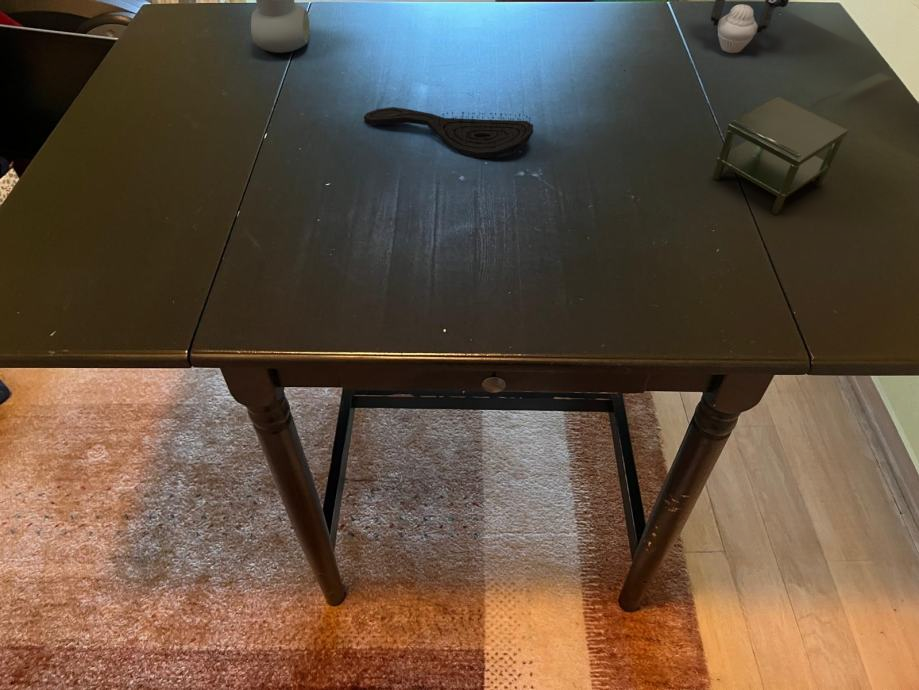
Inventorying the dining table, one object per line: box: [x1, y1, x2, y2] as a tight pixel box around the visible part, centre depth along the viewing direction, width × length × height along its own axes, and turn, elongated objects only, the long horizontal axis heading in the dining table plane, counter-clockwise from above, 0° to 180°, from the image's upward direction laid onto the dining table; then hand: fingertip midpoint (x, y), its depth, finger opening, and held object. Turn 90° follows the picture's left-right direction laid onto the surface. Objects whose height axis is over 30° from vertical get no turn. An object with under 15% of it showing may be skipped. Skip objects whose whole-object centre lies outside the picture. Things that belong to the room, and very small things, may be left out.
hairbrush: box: [363, 106, 535, 159], centre depth 96 cm, size 8×4×25 cm
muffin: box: [716, 3, 758, 54], centre depth 109 cm, size 6×6×7 cm
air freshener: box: [250, 0, 310, 54], centre depth 111 cm, size 11×8×10 cm
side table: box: [712, 96, 849, 216], centre depth 86 cm, size 10×10×9 cm
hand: (737, 26), depth 108 cm, fingers closed on muffin, 6 cm apart
